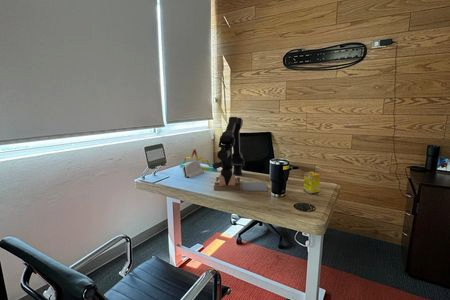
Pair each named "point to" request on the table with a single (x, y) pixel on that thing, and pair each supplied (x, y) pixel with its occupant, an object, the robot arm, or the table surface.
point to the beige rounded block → (192, 169)
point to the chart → (198, 160)
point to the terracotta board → (231, 182)
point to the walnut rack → (227, 187)
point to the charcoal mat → (254, 186)
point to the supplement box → (311, 182)
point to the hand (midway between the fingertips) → (227, 182)
